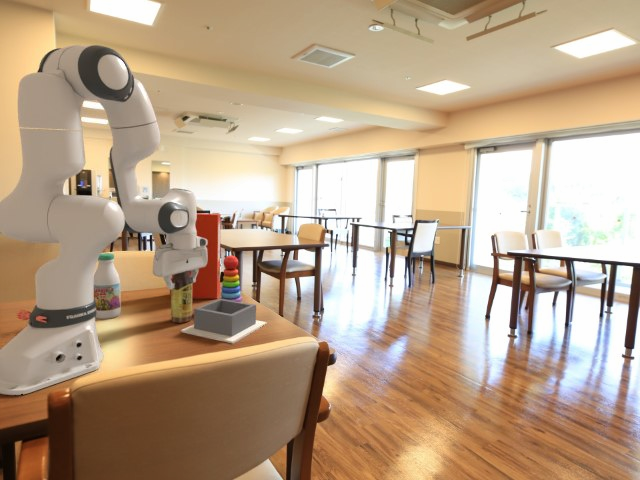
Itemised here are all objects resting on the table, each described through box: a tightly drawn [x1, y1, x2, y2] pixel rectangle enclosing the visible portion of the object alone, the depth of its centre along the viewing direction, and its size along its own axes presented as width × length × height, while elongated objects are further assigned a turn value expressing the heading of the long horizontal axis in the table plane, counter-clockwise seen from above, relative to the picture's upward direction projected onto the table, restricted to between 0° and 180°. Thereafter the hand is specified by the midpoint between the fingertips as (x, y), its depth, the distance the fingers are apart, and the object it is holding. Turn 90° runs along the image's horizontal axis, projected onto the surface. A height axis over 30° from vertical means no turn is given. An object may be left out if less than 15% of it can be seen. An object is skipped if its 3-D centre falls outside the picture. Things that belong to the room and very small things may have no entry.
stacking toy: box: [220, 255, 243, 302], centre depth 136 cm, size 8×8×19 cm
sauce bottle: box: [170, 259, 193, 324], centre depth 120 cm, size 6×6×20 cm
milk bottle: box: [94, 252, 122, 320], centre depth 122 cm, size 8×8×20 cm
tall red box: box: [169, 212, 222, 300], centre depth 147 cm, size 8×17×32 cm, turn 97°
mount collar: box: [180, 298, 268, 345], centre depth 116 cm, size 18×18×7 cm
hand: (181, 285), depth 120 cm, fingers open, 8 cm apart
